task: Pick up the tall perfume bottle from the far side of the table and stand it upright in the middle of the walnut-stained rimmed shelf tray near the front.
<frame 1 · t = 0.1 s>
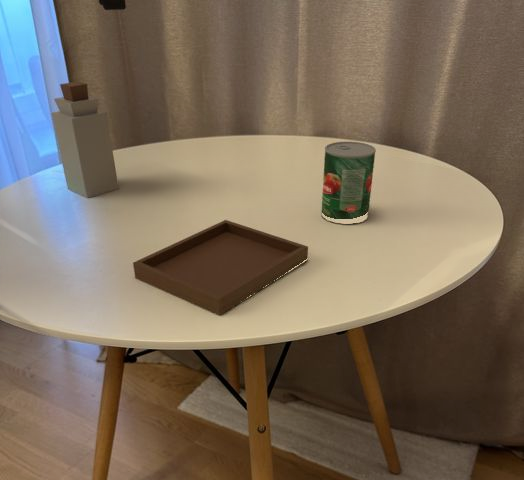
hand: (112, 7, 83), 29 cm above the table, tool pointing down, fingers open, 9 cm apart
perfume bottle: (93, 189, 103), on the table
shelf tray: (223, 269, 76), on the table
canned tomato: (344, 216, 92), on the table
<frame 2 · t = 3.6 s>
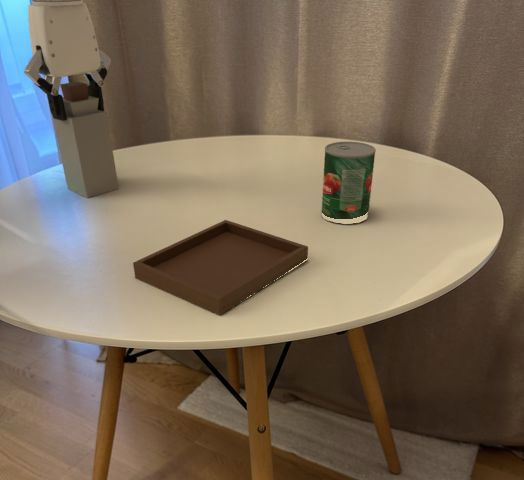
hand: (79, 114, 95), 13 cm above the table, tool pointing down, fingers closed on perfume bottle, 7 cm apart
perfume bottle: (93, 189, 103), on the table, touching gripper
everything else where it was.
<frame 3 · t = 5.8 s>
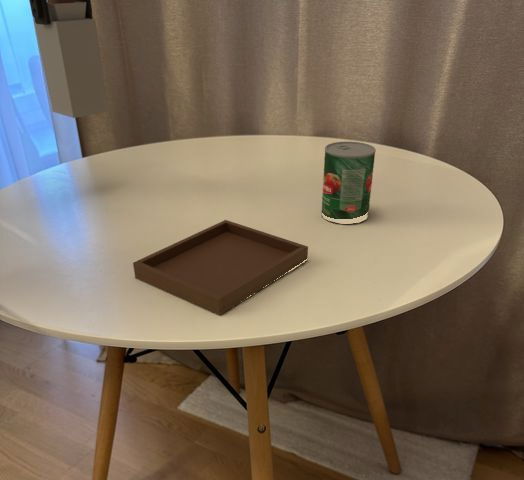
hand: (64, 21, 86), 27 cm above the table, tool pointing down, fingers closed on perfume bottle, 7 cm apart
perfume bottle: (80, 112, 93), point 14 cm above the table, touching gripper
everything else where it was.
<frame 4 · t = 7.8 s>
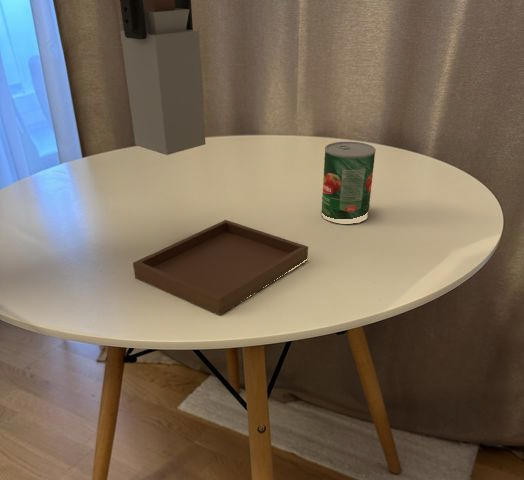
hand: (159, 33, 67), 28 cm above the table, tool pointing down, fingers closed on perfume bottle, 7 cm apart
perfume bottle: (170, 146, 75), point 14 cm above the table, touching gripper
everything else where it was.
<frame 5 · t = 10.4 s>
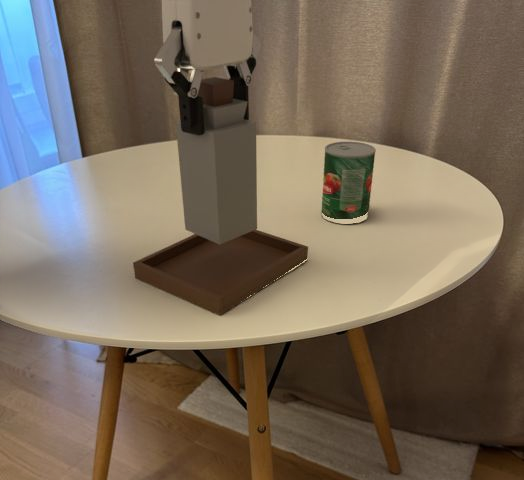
hand: (216, 125, 65), 19 cm above the table, tool pointing down, fingers closed on perfume bottle, 7 cm apart
perfume bottle: (221, 230, 73), point 6 cm above the table, touching gripper
everything else where it was.
when the fingers open (14 cm above the table, at t = 12.2 s): perfume bottle stays where it is, resting on shelf tray.
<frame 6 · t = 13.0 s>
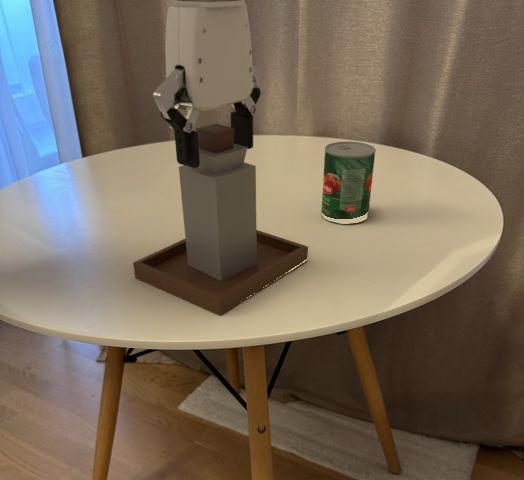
hand: (216, 155, 67), 16 cm above the table, tool pointing down, fingers open, 9 cm apart
perfume bottle: (222, 265, 76), point 1 cm above the table, touching shelf tray
everything else where it was.
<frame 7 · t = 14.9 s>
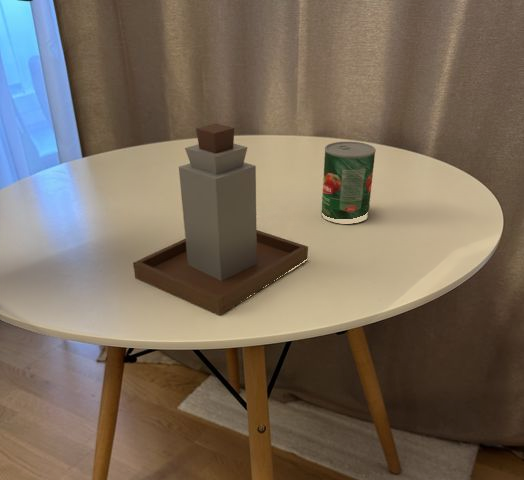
nothing on the table moved.
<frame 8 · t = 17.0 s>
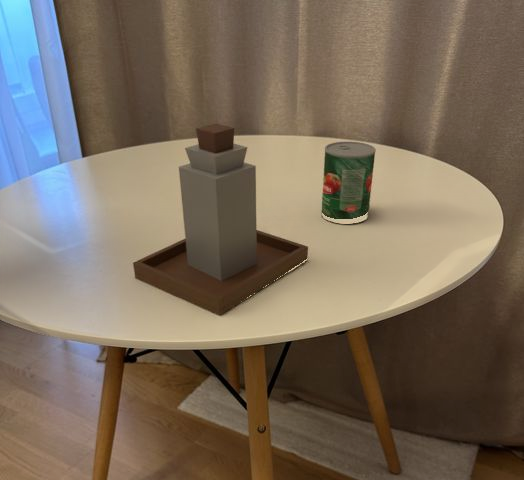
nothing on the table moved.
at the end: perfume bottle inside the target area in the shelf tray (0.1 cm from its centre), point 0.6 cm above the shelf tray's base; perfume bottle tilted 0° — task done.
